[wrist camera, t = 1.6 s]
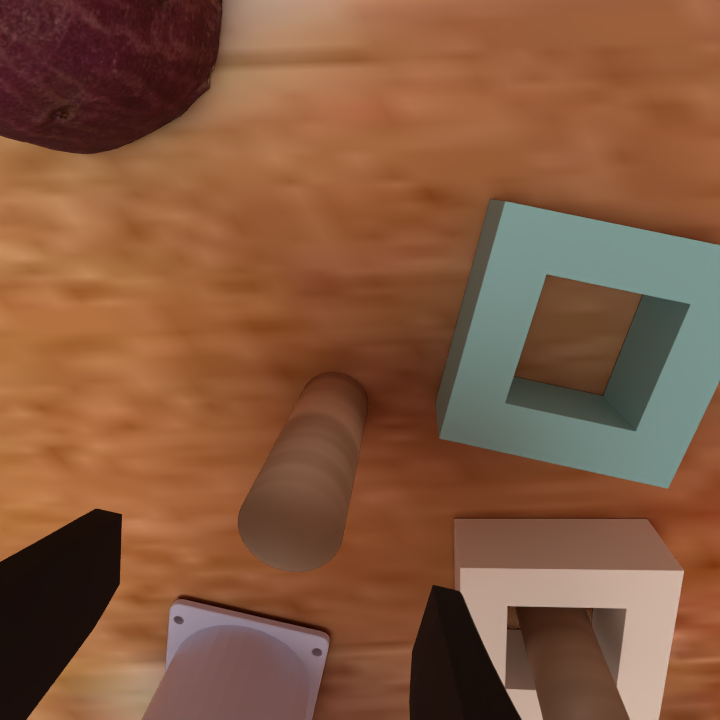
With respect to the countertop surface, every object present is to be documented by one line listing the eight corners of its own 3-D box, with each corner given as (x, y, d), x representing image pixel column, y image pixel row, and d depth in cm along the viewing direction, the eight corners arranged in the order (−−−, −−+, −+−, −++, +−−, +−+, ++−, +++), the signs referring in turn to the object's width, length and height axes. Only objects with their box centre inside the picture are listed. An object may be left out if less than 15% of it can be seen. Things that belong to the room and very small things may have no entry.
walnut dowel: (564, 622, 23) (613, 762, 17) (504, 608, 23) (534, 744, 18) (584, 575, 22) (643, 708, 17) (522, 561, 22) (560, 688, 17)
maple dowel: (361, 440, 21) (333, 581, 14) (296, 426, 21) (232, 559, 14) (374, 380, 20) (352, 496, 13) (306, 365, 20) (244, 472, 13)
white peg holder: (627, 662, 23) (657, 726, 21) (455, 656, 24) (461, 717, 22) (647, 518, 21) (684, 570, 18) (453, 518, 22) (460, 567, 19)
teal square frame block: (631, 445, 20) (668, 488, 17) (435, 403, 20) (438, 438, 17) (718, 245, 17) (779, 257, 14) (490, 198, 17) (505, 201, 15)
